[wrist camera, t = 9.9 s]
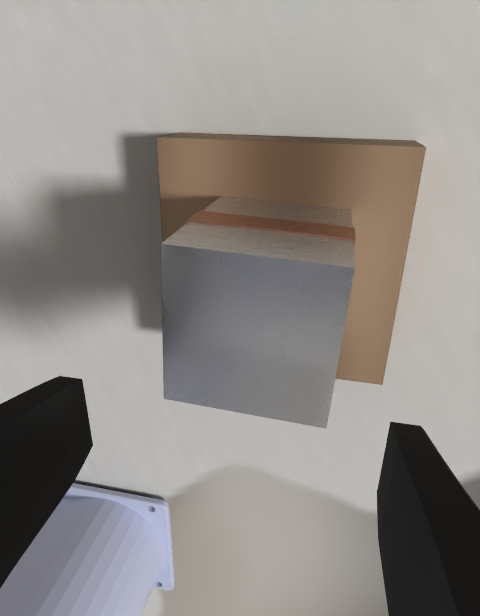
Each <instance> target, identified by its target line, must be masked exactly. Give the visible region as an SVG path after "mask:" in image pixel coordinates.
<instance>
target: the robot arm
mask: <svg viewBox="0 0 480 616" xmlns="http://www.w3.org/2000/svg"><path fill="white" fill-rule="evenodd" d="M92 446H93V443H92V437H91V431H90V424H89V418H88V412H87V406H86V400H85V394H84V387H83V381H82V379H77V378H69V377H62V376H59V377H56V378H54V379H51V380H49V381H47V382H45V383H42V384H40V385H38V386H36V387H34V388H32V389H30V390H28V391H26V392H24V393H22V394H20V395H18V396H16V397H14V398H12V399H10V400H8V401H6V402H4V403H2V404H0V616H141V614H142V612H143V609H144V607H145V604H146V602H147V599H148V597H149V594H150V592H151V589H152V587H153V588H157V589H162V590H166V591H169V590H172V589H173V587H174V584H175V580H174V566H173V552H172V540H171V526H170V511H169V505H168V504H167V502H165V501H163V500H160V499H155V498H150V497H144V496H139V495H134V494H128V493H123V492H118V491H113V490H107V489H102V488H97V487H92V486H86V485H81V484H76V483H73V482H74V481H75V479H76V477H77V475H78V473H79V471H80V470H81V468H82V466H83V464H84V462H85V460H86V458H87V456H88V454H89V452H90V450H91V448H92ZM377 513H378V540H379V548H380V555H381V562H382V570H383V577H384V584H385V591H386V598H387V605H388V612H389V616H480V510H479V508H478V507H477V506H476V504H475V503H474V502H473V500H472V499H471V498H470V496H469V495H468V493H467V492H466V491H465V490H464V488H463V487H462V485H461V484H460V482H459V481H458V480H457V478H456V477H455V475H454V474H453V472H452V471H451V470H450V468H449V467H448V465H447V464H446V462H445V461H444V459H443V458H442V456H441V455H440V453H439V452H438V450H437V449H436V447H435V446H434V444H433V443H432V441H431V440H430V438H429V437H428V435H427V434H426V432H425V431H424V429H423V428H422V427H421V426H417V425H410V424H402V423H395V422H390V427H389V433H388V438H387V443H386V448H385V454H384V459H383V464H382V469H381V475H380V480H379V485H378V490H377Z"/></svg>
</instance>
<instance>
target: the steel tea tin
mask: <svg viewBox="0 0 480 616" xmlns="http://www.w3.org/2000/svg"><path fill="white" fill-rule="evenodd" d="M355 240H356V237H355V227H353V226H352V210H351V209H342V208H332V207H322V206H313V205H303V204H293V203H284V202H274V201H264V200H255V199H245V198H235V197H226V196H221V197H220V198H218V199H217V200H216V201H215V202H213V203H212V204H211V205H210V206H208V207H207V208H206V209H204V210H203V211H200V210H199V211H198V212H197V213H195V214H194V215H193V216H191V217H190V218H189V219H188V220H187V224H185V225H184V226H183V227H181V228H180V229H179V230H178V231H176V232H175V233H174V234H173V235H171V236H170V237H169V238H167V239H166V240H165V241H164V242H162V243H161V278H162V329H163V380H164V399H169V400H174V401H180V402H185V403H191V404H196V405H201V406H207V407H212V408H218V409H223V410H229V411H234V412H240V413H245V414H251V415H256V416H261V417H267V418H272V419H278V420H283V421H289V422H294V423H300V424H305V425H311V426H316V427H321V428H326V427H327V421H328V416H329V410H330V405H331V399H332V394H333V388H334V382H335V377H336V371H337V366H338V360H339V355H340V349H341V344H342V338H343V333H344V327H345V322H346V316H347V310H348V305H349V299H350V294H351V288H352V283H353V277H354V272H355V257H354V245H355Z"/></svg>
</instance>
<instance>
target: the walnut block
mask: <svg viewBox="0 0 480 616" xmlns="http://www.w3.org/2000/svg"><path fill="white" fill-rule="evenodd" d="M425 151H426V147H425V146H423V145H422V144H420V143H418V142H416V141H407V140H378V139H349V138H320V137H290V136H261V135H232V134H203V133H176V134H171V135H166V136H161V137H157V152H158V169H159V186H160V203H161V220H162V237H163V242H164V241H165V240H166V239H167V238H169V237H170V236H171V235H173V234H174V233H175V232H176V231H178V230H179V229H180V228H181V227H183V226H184V225H185V224H187V220H188V219H189V218H190V217H191V216H193V215H194V214H195V213H197V212H198V211H199V210H200V211H203V210H204V209H206V208H207V207H208V206H210V205H211V204H212V203H213V202H215V201H216V200H217V199H218V198H220V197H221V196H226V197H235V198H245V199H255V200H264V201H274V202H284V203H293V204H303V205H313V206H322V207H332V208H342V209H351V210H352V226H353V227H355V237H356V240H355V245H354V257H355V272H354V277H353V283H352V288H351V294H350V299H349V305H348V310H347V316H346V322H345V327H344V333H343V338H342V344H341V349H340V355H339V360H338V366H337V371H336V377H335V379H343V380H351V381H358V382H366V383H373V384H381V385H382V384H383V379H384V374H385V368H386V363H387V357H388V352H389V346H390V341H391V335H392V330H393V325H394V319H395V314H396V308H397V303H398V297H399V292H400V286H401V281H402V276H403V270H404V265H405V259H406V254H407V248H408V243H409V238H410V232H411V227H412V221H413V216H414V210H415V205H416V199H417V194H418V189H419V183H420V178H421V172H422V167H423V161H424V156H425Z"/></svg>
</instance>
